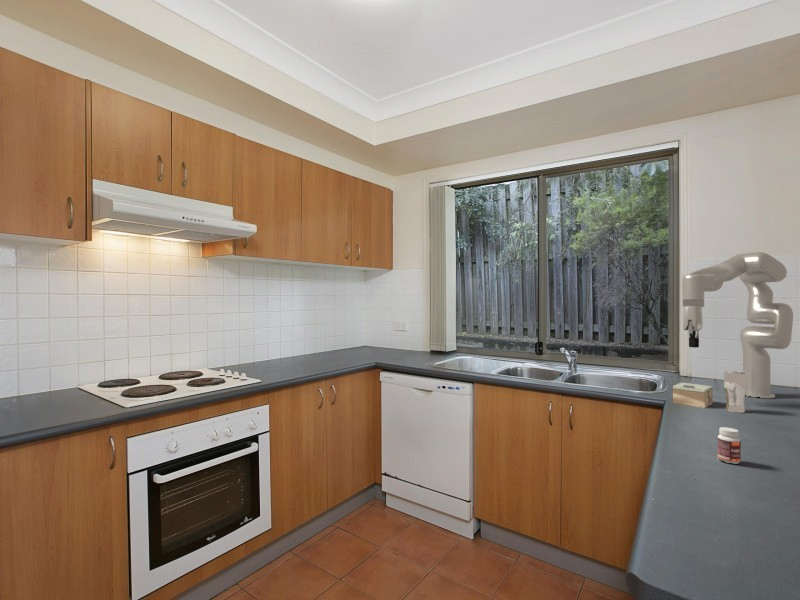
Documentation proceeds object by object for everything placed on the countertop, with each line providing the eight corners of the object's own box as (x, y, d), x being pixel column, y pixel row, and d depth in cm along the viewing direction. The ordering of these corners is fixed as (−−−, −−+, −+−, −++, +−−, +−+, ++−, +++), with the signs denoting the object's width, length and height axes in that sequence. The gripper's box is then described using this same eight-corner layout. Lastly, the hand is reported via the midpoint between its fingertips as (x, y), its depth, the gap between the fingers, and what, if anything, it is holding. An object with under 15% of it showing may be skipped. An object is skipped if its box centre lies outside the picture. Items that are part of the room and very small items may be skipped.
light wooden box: (681, 399, 183) (681, 385, 183) (712, 403, 174) (712, 389, 175) (672, 403, 175) (672, 388, 175) (704, 408, 167) (704, 392, 167)
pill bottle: (735, 466, 106) (735, 433, 106) (713, 460, 110) (713, 428, 110) (744, 463, 108) (744, 430, 108) (723, 457, 112) (723, 425, 112)
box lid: (681, 384, 183) (681, 380, 183) (712, 388, 175) (712, 384, 175) (672, 388, 175) (672, 383, 175) (704, 392, 167) (704, 387, 167)
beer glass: (726, 411, 161) (725, 372, 161) (722, 408, 167) (722, 370, 167) (749, 414, 157) (748, 374, 158) (744, 410, 164) (744, 371, 164)
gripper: (688, 303, 184) (688, 345, 184) (677, 303, 174) (678, 347, 174) (708, 303, 178) (709, 346, 178) (699, 303, 168) (699, 349, 168)
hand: (693, 347), depth 176 cm, fingers closed
